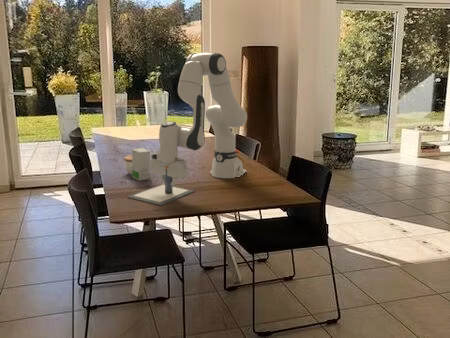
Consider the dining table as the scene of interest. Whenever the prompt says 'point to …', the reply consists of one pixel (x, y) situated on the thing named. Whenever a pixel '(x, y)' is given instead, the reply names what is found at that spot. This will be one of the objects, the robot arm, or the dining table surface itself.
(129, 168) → the lidded bowl
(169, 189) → the marker
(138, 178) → the skincare box
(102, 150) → the dining table surface
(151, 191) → the mat
